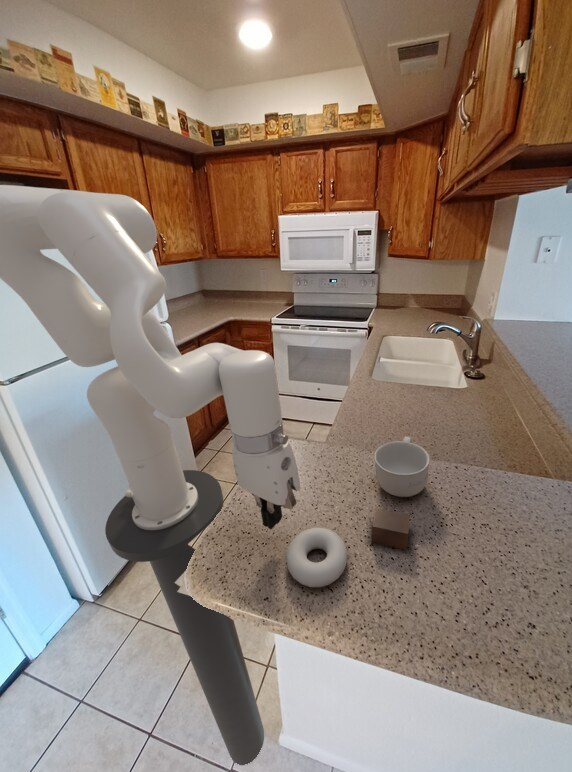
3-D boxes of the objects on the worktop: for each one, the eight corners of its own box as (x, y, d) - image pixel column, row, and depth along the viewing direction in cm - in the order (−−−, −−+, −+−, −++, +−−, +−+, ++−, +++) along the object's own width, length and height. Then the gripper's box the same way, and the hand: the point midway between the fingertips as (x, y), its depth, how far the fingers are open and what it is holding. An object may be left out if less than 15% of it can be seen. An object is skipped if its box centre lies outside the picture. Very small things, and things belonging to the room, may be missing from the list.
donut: (356, 550, 56) (306, 528, 60) (357, 536, 54) (305, 514, 59) (330, 604, 48) (274, 575, 52) (330, 590, 46) (272, 560, 51)
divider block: (371, 542, 57) (372, 526, 55) (375, 524, 60) (375, 508, 59) (406, 550, 55) (408, 533, 54) (408, 531, 59) (409, 515, 57)
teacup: (415, 513, 62) (419, 481, 59) (364, 492, 68) (365, 461, 64) (436, 471, 73) (441, 441, 69) (391, 455, 78) (392, 427, 75)
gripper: (313, 433, 48) (321, 523, 56) (240, 410, 55) (255, 492, 63) (282, 463, 42) (294, 558, 50) (204, 433, 50) (226, 520, 57)
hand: (273, 521), depth 57 cm, fingers closed
